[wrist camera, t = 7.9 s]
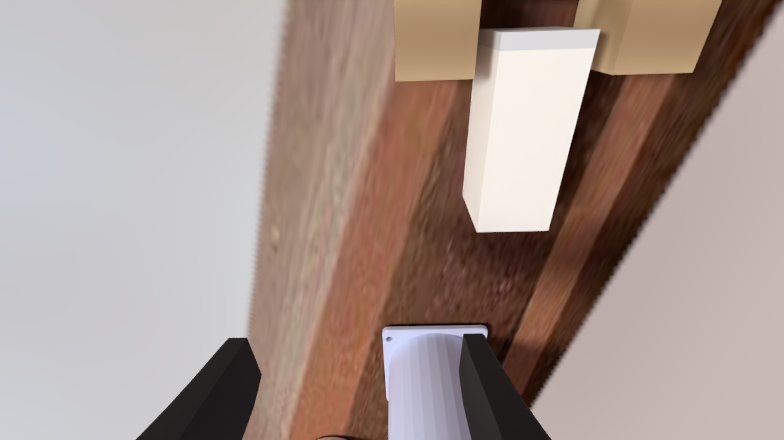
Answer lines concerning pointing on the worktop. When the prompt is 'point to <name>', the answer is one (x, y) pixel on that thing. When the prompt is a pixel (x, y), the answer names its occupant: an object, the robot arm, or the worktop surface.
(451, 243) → the worktop surface
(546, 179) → the white block
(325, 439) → the supplement bottle
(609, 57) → the tan bridge
